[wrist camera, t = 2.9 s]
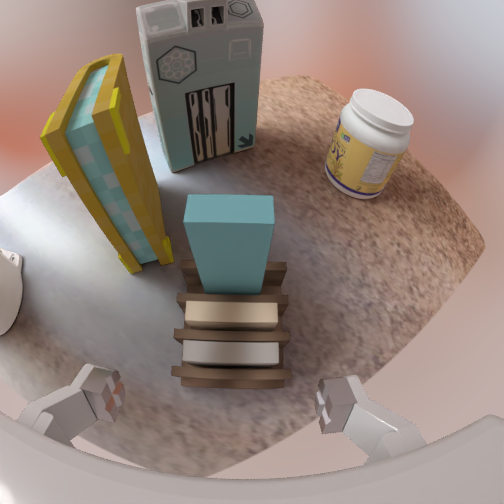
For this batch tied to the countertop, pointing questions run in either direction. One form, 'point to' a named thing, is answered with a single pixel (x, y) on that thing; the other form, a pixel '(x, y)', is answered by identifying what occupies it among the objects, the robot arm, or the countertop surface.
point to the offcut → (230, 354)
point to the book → (109, 161)
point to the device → (202, 76)
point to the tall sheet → (230, 240)
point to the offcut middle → (231, 316)
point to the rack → (234, 334)
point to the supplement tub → (368, 143)
